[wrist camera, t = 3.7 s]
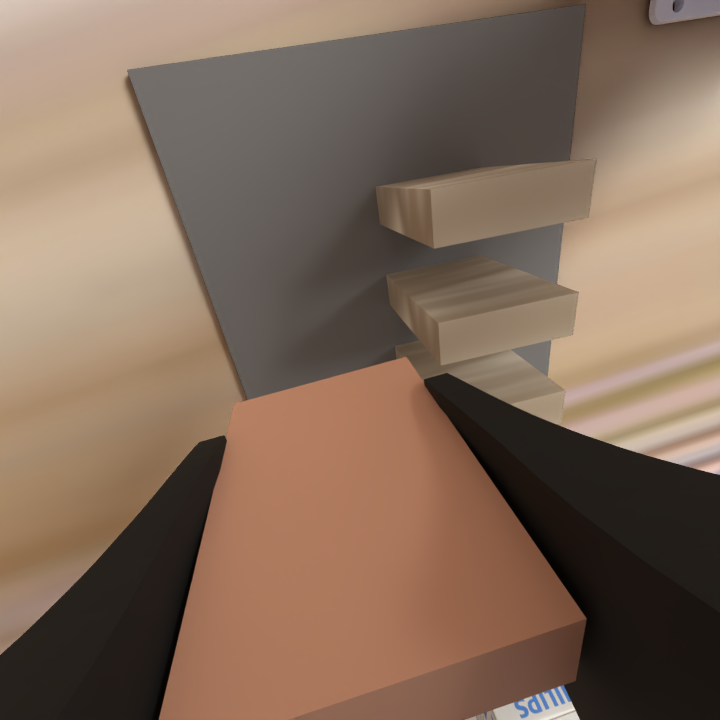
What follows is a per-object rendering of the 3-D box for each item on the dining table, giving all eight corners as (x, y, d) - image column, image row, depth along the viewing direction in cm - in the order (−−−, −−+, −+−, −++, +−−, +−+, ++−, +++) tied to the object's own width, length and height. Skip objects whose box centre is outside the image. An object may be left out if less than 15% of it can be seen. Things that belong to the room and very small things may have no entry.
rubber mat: (580, 7, 15) (585, 3, 14) (533, 488, 28) (535, 491, 27) (130, 72, 13) (126, 69, 13) (303, 550, 26) (304, 554, 26)
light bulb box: (507, 608, 35) (589, 766, 26) (442, 629, 35) (501, 797, 25) (507, 539, 30) (609, 704, 21) (431, 562, 30) (500, 742, 20)
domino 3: (386, 274, 18) (438, 323, 12) (480, 255, 18) (578, 292, 12) (389, 304, 19) (440, 365, 12) (480, 285, 19) (573, 335, 13)
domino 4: (395, 346, 20) (443, 420, 14) (480, 326, 20) (565, 390, 14) (397, 371, 20) (445, 452, 14) (480, 351, 21) (561, 422, 15)
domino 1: (233, 404, 10) (146, 767, 4) (406, 356, 10) (586, 618, 4) (253, 446, 11) (207, 809, 4) (413, 401, 11) (575, 680, 5)
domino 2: (375, 186, 16) (430, 189, 10) (480, 167, 16) (596, 158, 10) (379, 224, 17) (434, 248, 11) (480, 204, 17) (588, 217, 11)
